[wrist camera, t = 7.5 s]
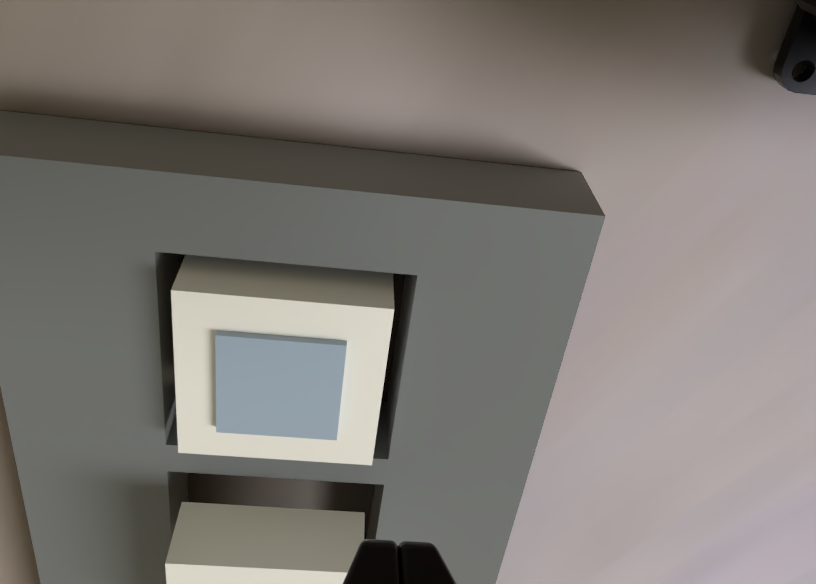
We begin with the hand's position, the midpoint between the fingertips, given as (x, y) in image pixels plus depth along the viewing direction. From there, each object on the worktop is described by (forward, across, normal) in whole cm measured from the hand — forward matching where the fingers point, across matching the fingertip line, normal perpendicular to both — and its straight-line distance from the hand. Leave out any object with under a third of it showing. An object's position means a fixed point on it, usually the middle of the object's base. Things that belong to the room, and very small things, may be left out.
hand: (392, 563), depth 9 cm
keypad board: (+12, +2, +12) cm, 17 cm away
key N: (+11, +2, +5) cm, 12 cm away
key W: (+9, +2, +12) cm, 15 cm away
